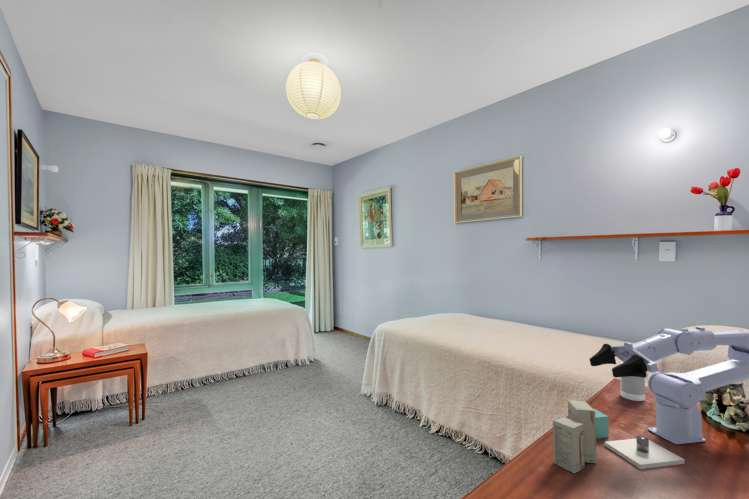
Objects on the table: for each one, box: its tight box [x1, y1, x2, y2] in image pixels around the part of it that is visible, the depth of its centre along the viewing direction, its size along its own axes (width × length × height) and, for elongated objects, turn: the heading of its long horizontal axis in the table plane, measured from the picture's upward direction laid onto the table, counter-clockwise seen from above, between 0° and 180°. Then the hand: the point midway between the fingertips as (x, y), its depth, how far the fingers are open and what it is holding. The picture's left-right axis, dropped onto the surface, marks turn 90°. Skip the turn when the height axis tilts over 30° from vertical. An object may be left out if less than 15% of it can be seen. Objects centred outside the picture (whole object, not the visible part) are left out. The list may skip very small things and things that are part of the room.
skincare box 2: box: [567, 399, 598, 464], centre depth 85 cm, size 6×4×12 cm
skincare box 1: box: [552, 416, 586, 474], centre depth 81 cm, size 5×4×10 cm
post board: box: [604, 434, 686, 470], centre depth 86 cm, size 12×10×4 cm
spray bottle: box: [619, 361, 646, 402], centre depth 120 cm, size 7×7×18 cm
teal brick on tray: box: [592, 407, 610, 439], centre depth 96 cm, size 5×5×6 cm
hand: (601, 367), depth 92 cm, fingers open, 7 cm apart
